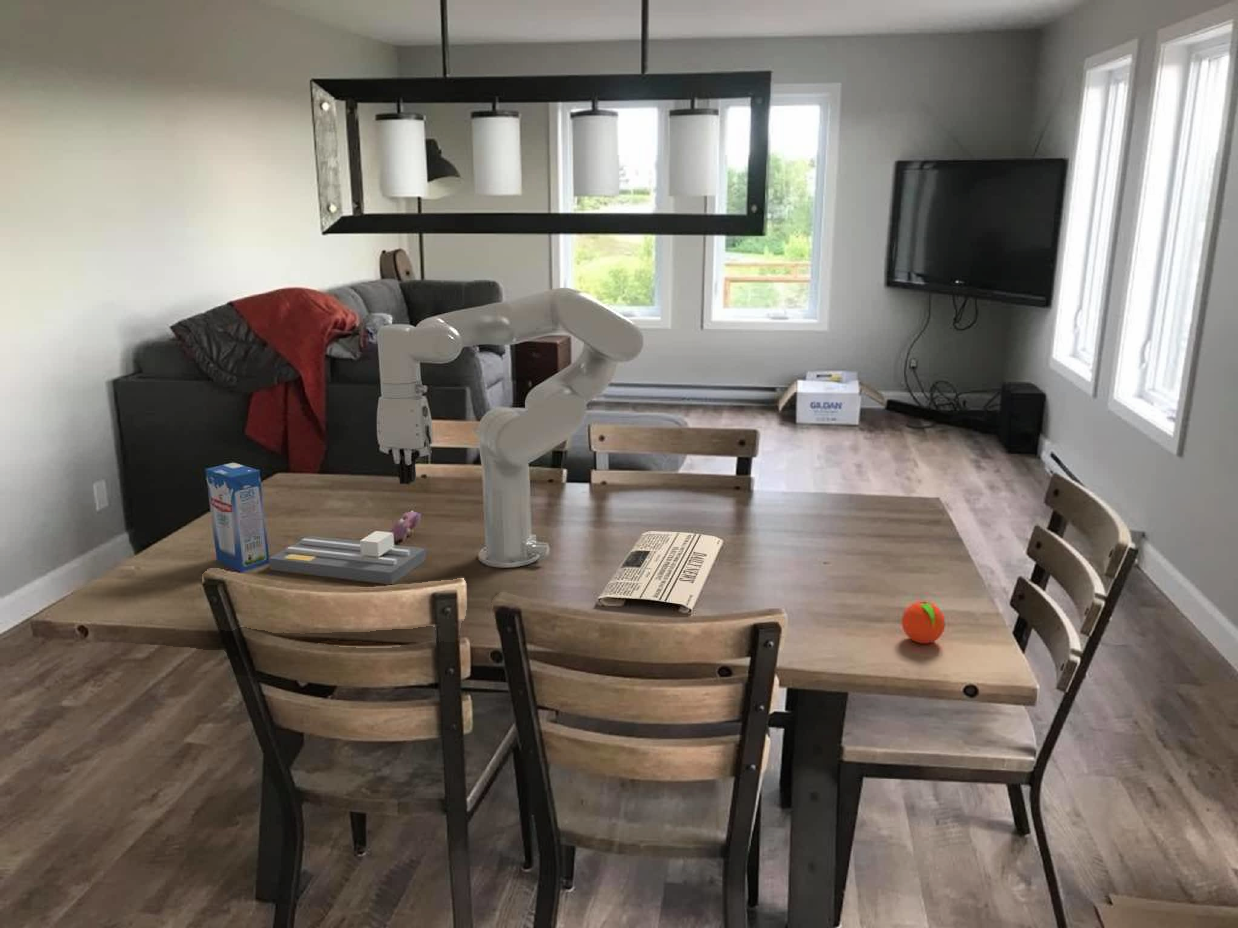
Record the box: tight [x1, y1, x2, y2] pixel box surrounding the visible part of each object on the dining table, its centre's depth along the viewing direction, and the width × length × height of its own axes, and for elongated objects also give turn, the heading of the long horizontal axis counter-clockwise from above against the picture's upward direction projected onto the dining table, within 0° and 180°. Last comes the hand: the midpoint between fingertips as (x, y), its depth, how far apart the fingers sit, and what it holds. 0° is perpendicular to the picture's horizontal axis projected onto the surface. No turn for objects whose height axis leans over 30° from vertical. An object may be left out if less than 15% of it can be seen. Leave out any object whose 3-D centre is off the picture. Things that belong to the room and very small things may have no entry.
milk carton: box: [204, 462, 270, 573], centre depth 202 cm, size 10×6×20 cm, turn 50°
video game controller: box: [388, 510, 422, 543], centre depth 218 cm, size 10×5×7 cm, turn 169°
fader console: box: [268, 535, 427, 585], centre depth 203 cm, size 28×14×3 cm, turn 72°
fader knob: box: [359, 530, 395, 557], centre depth 200 cm, size 4×6×4 cm, turn 162°
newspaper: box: [596, 530, 724, 615], centre depth 197 cm, size 37×19×3 cm, turn 165°
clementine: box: [901, 600, 946, 644], centre depth 165 cm, size 8×7×7 cm
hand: (407, 482), depth 193 cm, fingers closed
